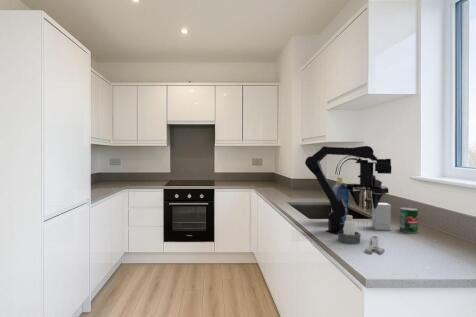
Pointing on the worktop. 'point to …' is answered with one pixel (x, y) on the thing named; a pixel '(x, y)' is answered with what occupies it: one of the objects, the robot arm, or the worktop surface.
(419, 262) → the worktop surface
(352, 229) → the salt shaker
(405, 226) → the canned tomato
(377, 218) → the supplement box
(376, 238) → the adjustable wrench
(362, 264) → the worktop surface
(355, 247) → the worktop surface
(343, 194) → the blue cleaner bottle
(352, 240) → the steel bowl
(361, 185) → the robot arm
